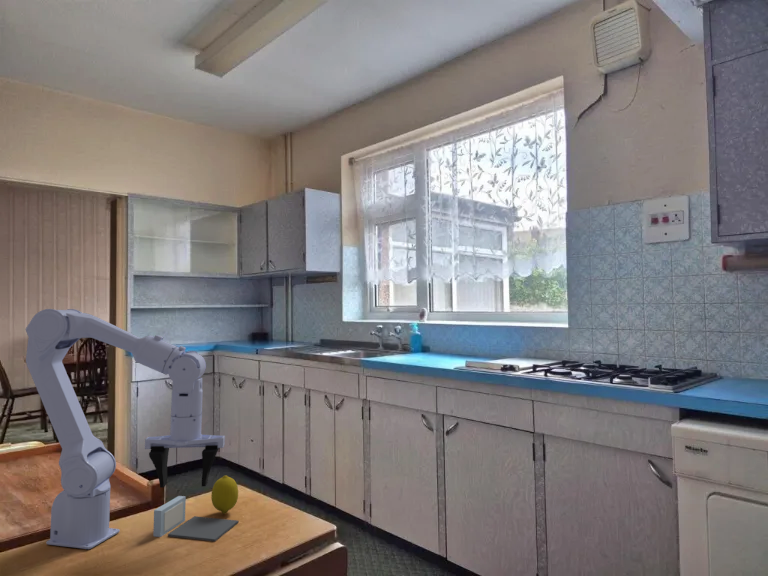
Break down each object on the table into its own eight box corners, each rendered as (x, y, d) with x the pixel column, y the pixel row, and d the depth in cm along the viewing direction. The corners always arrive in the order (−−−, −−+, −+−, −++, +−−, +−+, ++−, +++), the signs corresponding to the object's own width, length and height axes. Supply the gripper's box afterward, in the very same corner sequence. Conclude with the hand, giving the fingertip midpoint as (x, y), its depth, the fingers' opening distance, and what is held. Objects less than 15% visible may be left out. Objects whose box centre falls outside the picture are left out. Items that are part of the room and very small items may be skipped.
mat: (167, 536, 99) (167, 534, 99) (194, 518, 108) (194, 516, 108) (215, 541, 97) (215, 539, 97) (238, 522, 106) (238, 520, 106)
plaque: (153, 536, 99) (154, 510, 100) (178, 520, 107) (178, 495, 108) (161, 537, 99) (161, 511, 99) (185, 521, 107) (186, 496, 107)
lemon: (233, 518, 108) (234, 479, 109) (207, 518, 108) (208, 479, 109) (241, 508, 114) (241, 471, 114) (215, 508, 114) (216, 471, 114)
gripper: (140, 419, 96) (137, 493, 95) (221, 418, 98) (218, 491, 97) (152, 411, 103) (149, 481, 102) (227, 411, 105) (225, 479, 104)
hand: (184, 485), depth 100 cm, fingers open, 7 cm apart
